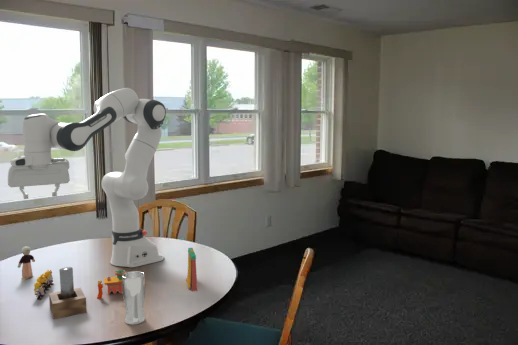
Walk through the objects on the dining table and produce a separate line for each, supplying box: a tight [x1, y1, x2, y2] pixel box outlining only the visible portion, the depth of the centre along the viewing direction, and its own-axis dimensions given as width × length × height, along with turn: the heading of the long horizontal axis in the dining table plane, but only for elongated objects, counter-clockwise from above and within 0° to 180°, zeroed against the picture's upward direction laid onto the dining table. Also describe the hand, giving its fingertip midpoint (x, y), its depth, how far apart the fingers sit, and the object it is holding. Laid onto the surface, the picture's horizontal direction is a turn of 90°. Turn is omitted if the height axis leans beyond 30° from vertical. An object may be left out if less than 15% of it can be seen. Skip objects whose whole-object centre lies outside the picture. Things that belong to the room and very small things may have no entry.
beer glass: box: [121, 270, 146, 326], centre depth 146 cm, size 7×7×15 cm
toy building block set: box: [96, 247, 198, 300], centre depth 172 cm, size 12×35×14 cm, turn 105°
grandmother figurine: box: [17, 246, 36, 281], centre depth 184 cm, size 8×4×13 cm, turn 168°
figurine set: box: [33, 269, 55, 301], centre depth 170 cm, size 3×16×6 cm, turn 8°
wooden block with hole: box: [48, 287, 88, 320], centre depth 155 cm, size 10×10×5 cm
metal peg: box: [58, 266, 75, 300], centre depth 154 cm, size 4×4×14 cm
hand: (40, 197), depth 170 cm, fingers open, 8 cm apart
